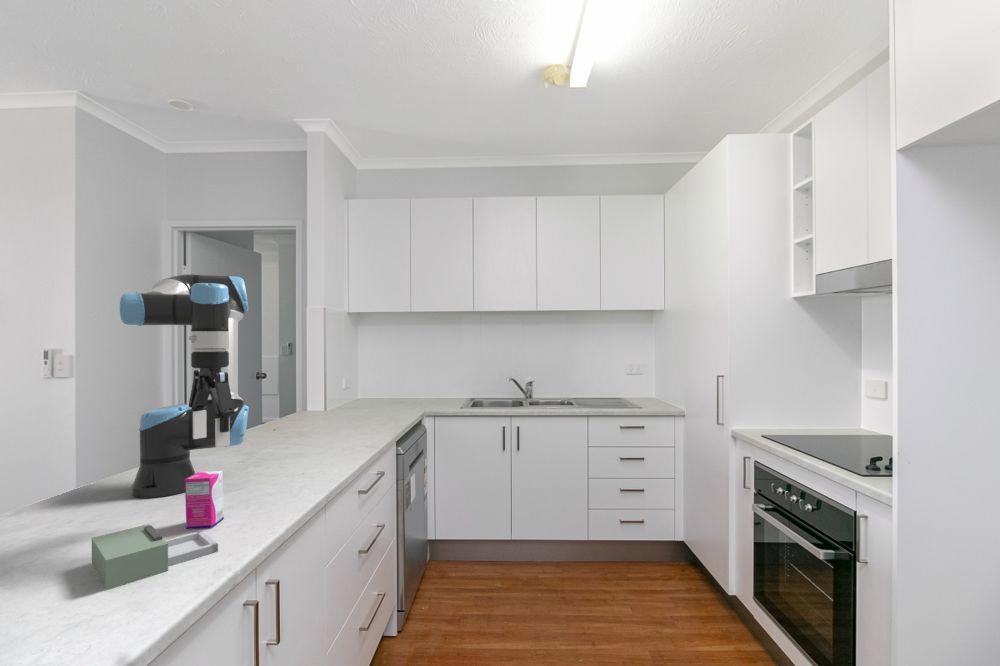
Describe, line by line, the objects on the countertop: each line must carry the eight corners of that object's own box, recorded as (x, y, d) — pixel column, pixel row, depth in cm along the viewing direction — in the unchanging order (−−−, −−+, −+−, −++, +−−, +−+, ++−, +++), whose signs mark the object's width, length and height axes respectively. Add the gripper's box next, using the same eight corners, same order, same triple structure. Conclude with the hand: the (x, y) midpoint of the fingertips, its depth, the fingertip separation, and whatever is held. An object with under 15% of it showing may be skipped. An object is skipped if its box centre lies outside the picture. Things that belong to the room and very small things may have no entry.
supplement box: (198, 519, 115) (198, 471, 115) (224, 518, 115) (224, 470, 116) (184, 529, 109) (184, 478, 109) (212, 528, 110) (211, 477, 110)
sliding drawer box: (91, 564, 93) (91, 534, 93) (198, 535, 106) (198, 509, 106) (106, 589, 83) (106, 556, 83) (221, 554, 97) (221, 525, 97)
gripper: (173, 349, 118) (173, 437, 118) (213, 352, 102) (214, 453, 102) (207, 348, 124) (207, 432, 124) (250, 351, 108) (251, 447, 108)
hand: (210, 442), depth 113 cm, fingers open, 13 cm apart
